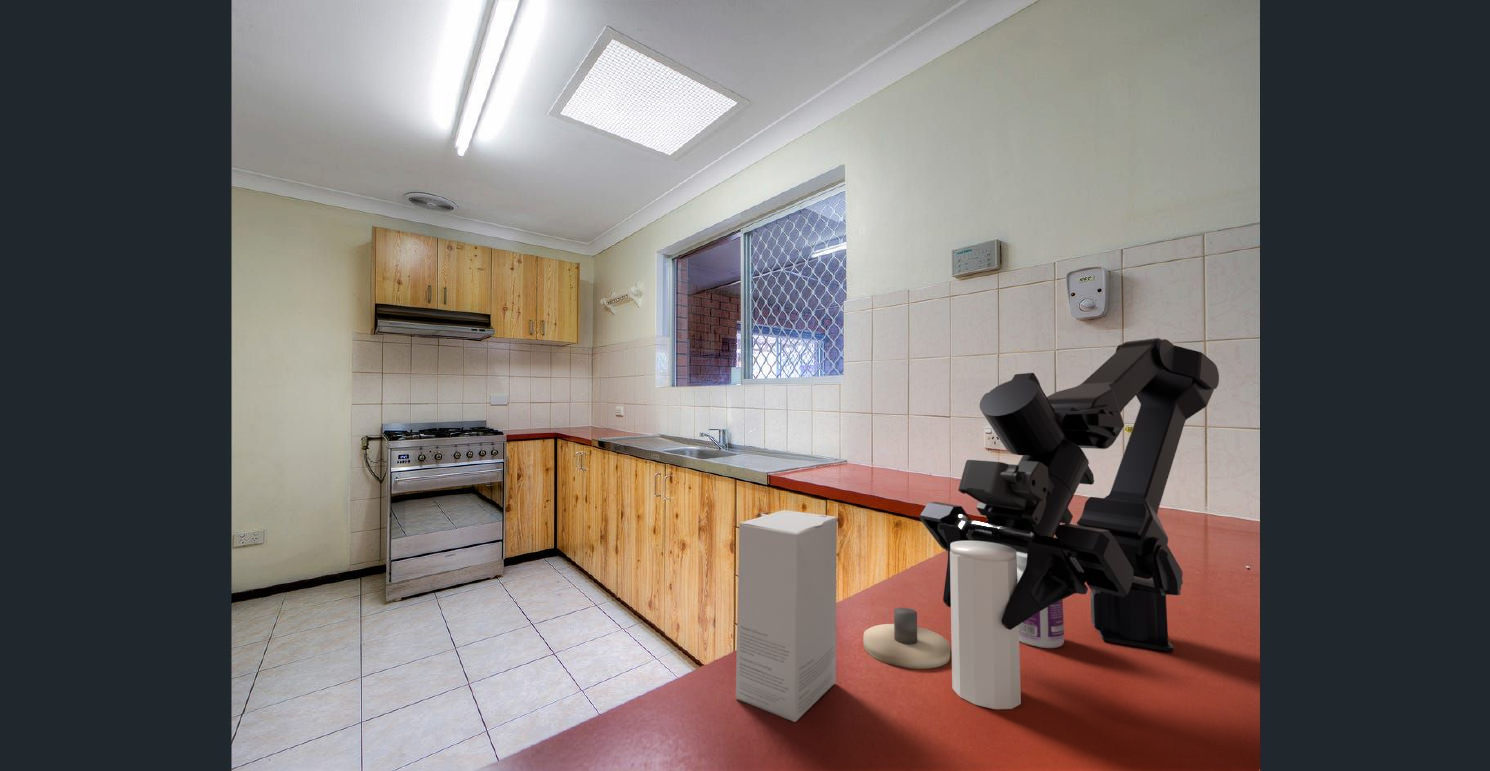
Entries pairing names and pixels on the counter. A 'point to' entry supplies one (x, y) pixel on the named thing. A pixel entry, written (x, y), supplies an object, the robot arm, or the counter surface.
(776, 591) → the skincare box
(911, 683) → the counter surface
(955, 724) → the counter surface
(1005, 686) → the white plastic canister
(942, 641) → the post base
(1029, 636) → the pill bottle
